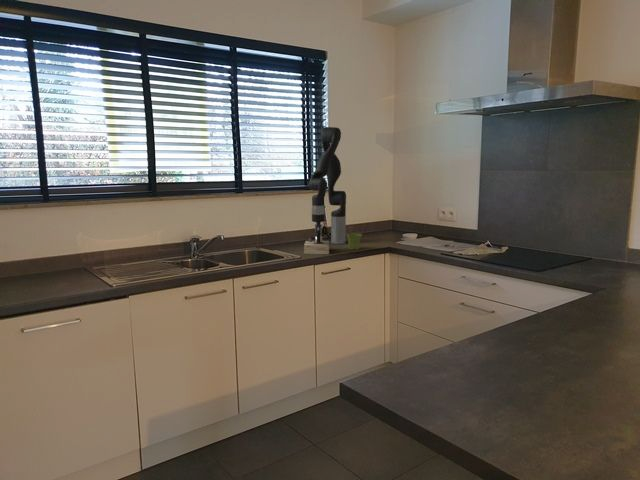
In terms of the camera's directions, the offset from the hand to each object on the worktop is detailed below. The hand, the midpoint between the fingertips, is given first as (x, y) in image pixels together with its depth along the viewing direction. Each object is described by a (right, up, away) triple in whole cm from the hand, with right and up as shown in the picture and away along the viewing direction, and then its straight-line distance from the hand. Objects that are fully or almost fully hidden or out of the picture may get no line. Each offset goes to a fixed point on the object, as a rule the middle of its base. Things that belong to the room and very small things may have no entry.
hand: (318, 242), depth 271 cm
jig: (-1, -5, +1) cm, 5 cm away
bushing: (0, -2, 0) cm, 2 cm away
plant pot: (+21, -4, +8) cm, 23 cm away
